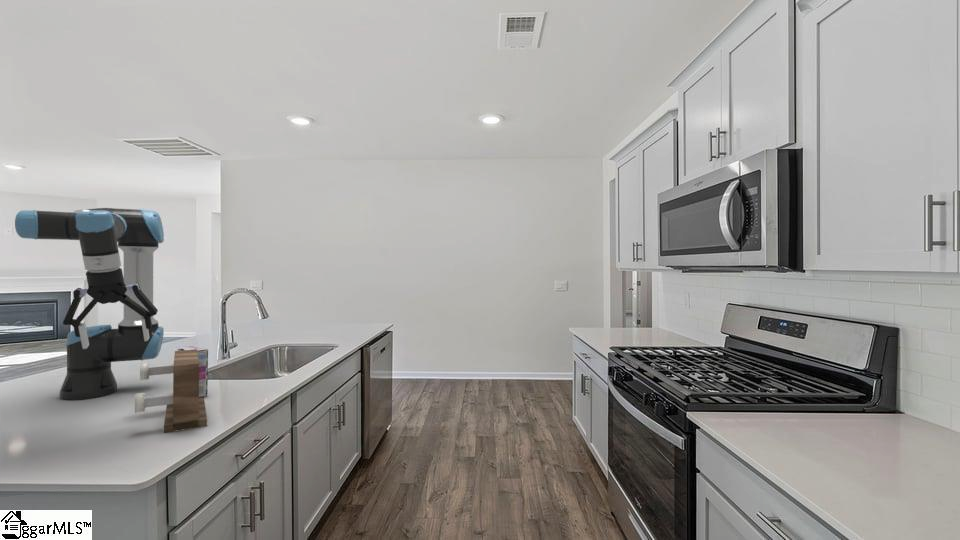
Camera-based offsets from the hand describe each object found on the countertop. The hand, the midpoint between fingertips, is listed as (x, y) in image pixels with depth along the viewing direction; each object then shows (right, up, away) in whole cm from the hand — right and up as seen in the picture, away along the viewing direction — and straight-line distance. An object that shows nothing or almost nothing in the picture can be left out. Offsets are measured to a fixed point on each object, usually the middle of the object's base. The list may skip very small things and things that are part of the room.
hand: (117, 343), depth 126 cm
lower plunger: (+12, -18, 0) cm, 22 cm away
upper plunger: (+3, -13, +14) cm, 19 cm away
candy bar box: (+1, -23, +31) cm, 39 cm away
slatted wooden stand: (+13, -24, +10) cm, 29 cm away
